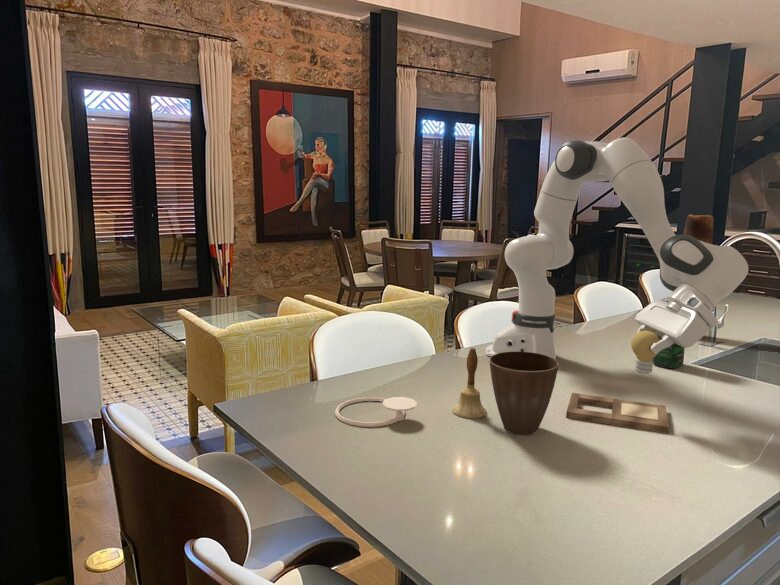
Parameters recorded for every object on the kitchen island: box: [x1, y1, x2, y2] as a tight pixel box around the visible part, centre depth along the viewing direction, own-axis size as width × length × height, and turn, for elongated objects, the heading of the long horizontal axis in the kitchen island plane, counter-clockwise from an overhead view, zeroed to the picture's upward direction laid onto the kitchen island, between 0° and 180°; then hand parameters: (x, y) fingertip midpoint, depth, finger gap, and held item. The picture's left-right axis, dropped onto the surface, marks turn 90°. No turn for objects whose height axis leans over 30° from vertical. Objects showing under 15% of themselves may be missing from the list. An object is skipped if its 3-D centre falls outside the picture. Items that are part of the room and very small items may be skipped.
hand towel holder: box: [334, 396, 418, 428], centre depth 137 cm, size 17×4×21 cm
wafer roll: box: [682, 214, 714, 245], centre depth 211 cm, size 10×11×45 cm
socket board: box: [565, 392, 670, 434], centre depth 139 cm, size 22×14×2 cm, turn 68°
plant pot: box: [488, 352, 560, 436], centre depth 129 cm, size 15×15×16 cm
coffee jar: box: [652, 335, 686, 369], centre depth 178 cm, size 10×8×19 cm
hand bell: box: [451, 347, 488, 419], centre depth 138 cm, size 8×8×16 cm
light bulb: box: [630, 331, 660, 375], centre depth 135 cm, size 6×6×10 cm
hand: (643, 346), depth 134 cm, fingers closed on light bulb, 6 cm apart
